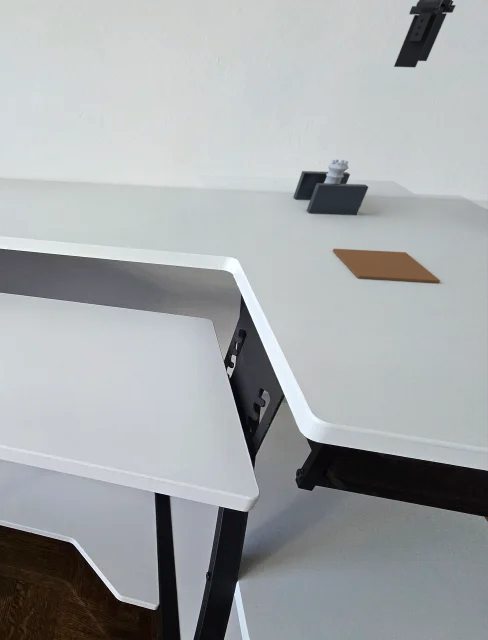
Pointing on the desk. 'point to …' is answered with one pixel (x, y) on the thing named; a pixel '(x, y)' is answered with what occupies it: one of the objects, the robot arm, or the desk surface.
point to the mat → (384, 265)
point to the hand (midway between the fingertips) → (410, 64)
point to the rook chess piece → (336, 171)
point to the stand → (329, 194)
